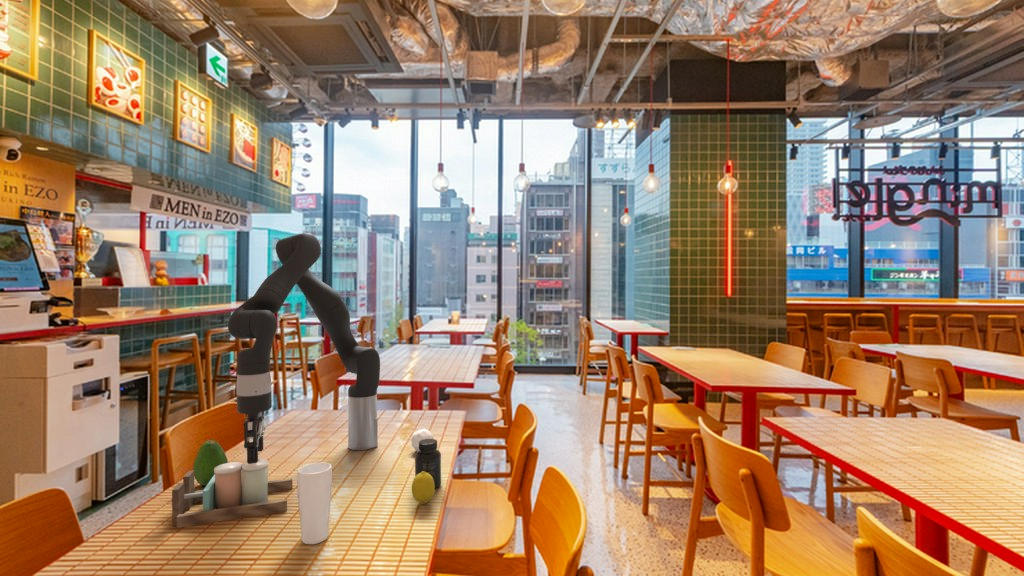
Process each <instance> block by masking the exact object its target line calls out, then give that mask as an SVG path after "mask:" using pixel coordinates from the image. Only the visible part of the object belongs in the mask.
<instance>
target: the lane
mask: <svg viewBox="0 0 1024 576" xmlns="http://www.w3.org/2000/svg"><path fill="white" fill-rule="evenodd" d="M293 486H294V485H293V477H292V478H286V479H285V478H283V479H277V480H275V479H274V480H268V493H272V492H281V491H288V490H293ZM203 490H204V489H198V490H195V476H194V470H193V469H192V470H188V471H187V472H186V473H185V474H184V475H183V477H182V482H178V483H176V485H175V486H174V488H172V490H171V526H172V527H176V528H177V529H178V528H185V527H190V526H191V527H193V526H198V525H204V524H211V523H218V522H224V521H225V522H226V521H229V520H231V521H232V520H236V519H237V520H239V519H242V518H243V519H244V518H245V519H246V518H252V517H257V516H258V517H259V516H262V515H263V516H265V515H268V514H269V515H271V514H276V513H284V512H287V510H288V499H287V498H284V499H278V500H272V501H270V500H269V501H268V502H263V503H256V504H249V505H242V506H235V507H228V508H221V509H214V510H207V511H203V510H201V511H195V512H194V511H193V512H186V513H185V511H189V510H190V509H191V508H192V507H193V506H194V504H195V503H200V502H201V503H202V502H203V496H202V497H195V498H187V499H184V494H191V493H198V492H203Z"/></svg>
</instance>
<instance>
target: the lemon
mask: <svg viewBox="0 0 1024 576" xmlns="http://www.w3.org/2000/svg"><path fill="white" fill-rule="evenodd" d="M435 491H436V490H435V485H434V480H433V478H432V476H431V475H430V474H429V473H426V472H424V471H422V472H421V473H419V474H418V475H416V476H415V475H414V477H413V480H412V484H411V494H412V498H413V499H414V500H415V501H416V502H418V503H420V504H421V505H425V504H427V502H429V501H431V499H432V498H433V497H434V495H435Z"/></svg>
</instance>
